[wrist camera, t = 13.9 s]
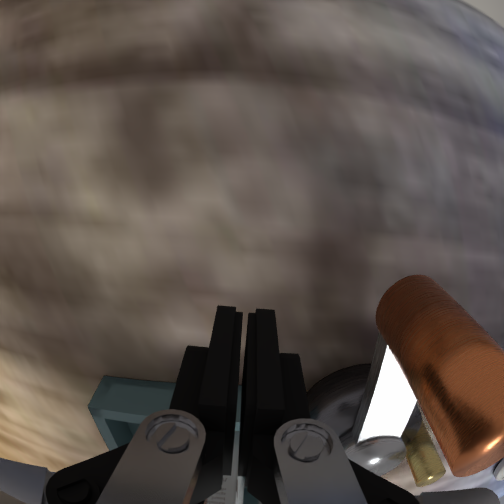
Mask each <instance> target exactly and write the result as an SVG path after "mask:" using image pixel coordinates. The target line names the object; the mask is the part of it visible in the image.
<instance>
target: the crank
mask: <svg viewBox="0 0 504 504" xmlns="http://www.w3.org/2000/svg"><path fill="white" fill-rule="evenodd" d="M376 325H377V328H378V330H379V334H378V339H377V343H376V348H375V352H374V356H373V360H372V364H371V368H370V372H369V376H368V380H367V383H366V387H365V391H364V394H363V398H362V401H361V405H360V408H359V411H358V415H357V418H356V421H355V424H354V427H353V430H352V431H351V432H349V433H347V434H346V435H344V436H343V437H342V438H340V441H341V444H342V446H343V448H344V451H345V453H346V455H347V458H348V459H350V460H352V461H353V462H355V463H357V464H359V465H360V466H362V467H364V468H365V469H367V470H369V471H371V472H373V473H374V474H376V475H378V476H381V475H384V474H386V473H387V472H389V471H391V470H392V469H394V468H395V467H396V466H398V465H399V464H400V463H401V462H402V461H403V459H404V458H405V456H406V453H407V450H406V447H405V444H404V442H403V439H402V437H401V435H402V432H403V430H404V428H405V426H406V424H407V422H408V420H409V417H410V415H411V413H412V411H413V408H414V406H415V404H416V401H418V403H419V405H420V407H421V409H422V411H423V413H424V415H425V417H426V419H427V421H428V423H429V425H430V427H431V429H432V431H433V433H434V435H435V437H436V439H437V441H438V443H439V445H440V447H441V449H442V452H443V454H444V456H445V458H446V460H447V462H448V465H449V467H450V469H451V471H452V473H453V475H454V476H456V477H465V476H469V475H473V474H475V473H478V472H480V471H482V470H484V469H486V468H488V467H490V466H491V465H493V464H494V463H496V462H498V461H499V460H500V459H502V458H503V457H504V350H503V349H502V348H501V347H500V346H499V345H498V344H497V343H496V341H495V340H494V339H493V338H492V337H491V336H490V335H489V334H488V333H487V332H486V331H485V330H484V329H483V328H482V327H481V326H480V325H479V324H478V323H477V322H476V321H475V320H474V319H473V318H472V317H471V316H470V315H469V314H468V313H467V312H466V311H465V310H464V309H463V308H462V307H461V306H460V305H459V304H458V303H457V302H456V301H455V300H454V299H453V298H452V297H451V296H450V295H449V294H448V293H447V292H446V291H445V290H444V289H443V288H442V287H440V286H439V285H438V284H437V283H436V282H435V281H434V280H433V279H431V278H430V277H428V276H424V275H412V276H408V277H405V278H403V279H401V280H399V281H398V282H396V283H395V284H394V285H392V286H391V287H390V288H389V289H388V290H387V291H386V293H385V294H384V295H383V297H382V298H381V300H380V302H379V304H378V307H377V311H376Z"/></svg>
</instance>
